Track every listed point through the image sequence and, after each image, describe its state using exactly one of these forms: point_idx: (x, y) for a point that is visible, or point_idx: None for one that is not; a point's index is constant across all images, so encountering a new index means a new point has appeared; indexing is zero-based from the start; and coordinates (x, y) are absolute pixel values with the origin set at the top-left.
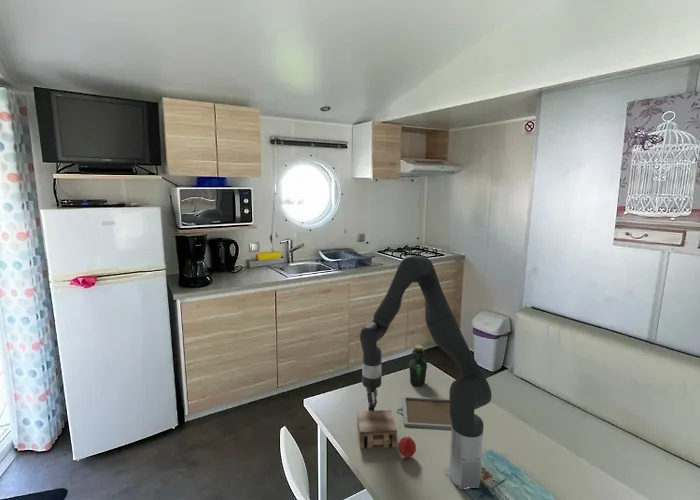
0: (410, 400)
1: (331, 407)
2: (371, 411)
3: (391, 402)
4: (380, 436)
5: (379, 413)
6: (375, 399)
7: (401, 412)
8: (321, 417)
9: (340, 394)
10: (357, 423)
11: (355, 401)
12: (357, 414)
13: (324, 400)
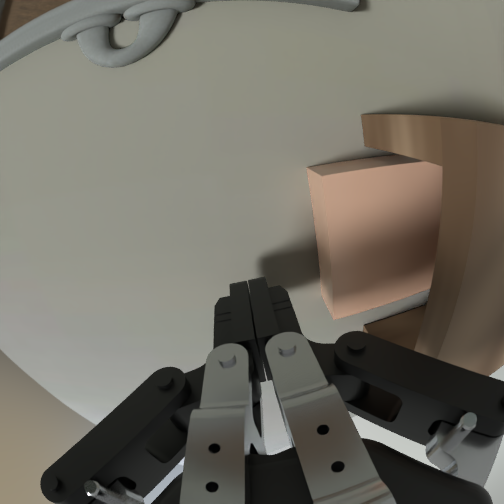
0: (5, 20)
1: None
2: (447, 352)
3: (22, 139)
4: None
5: (494, 275)
6: (468, 431)
7: (159, 15)
8: (281, 446)
9: (91, 417)
10: None
11: (106, 375)
12: None
13: None
